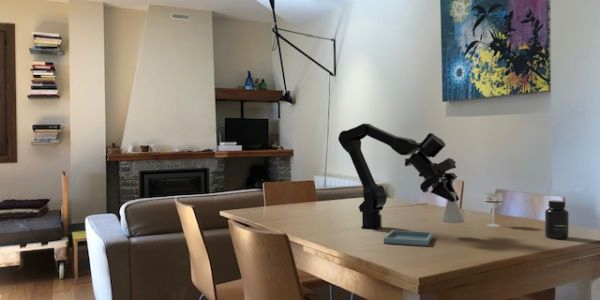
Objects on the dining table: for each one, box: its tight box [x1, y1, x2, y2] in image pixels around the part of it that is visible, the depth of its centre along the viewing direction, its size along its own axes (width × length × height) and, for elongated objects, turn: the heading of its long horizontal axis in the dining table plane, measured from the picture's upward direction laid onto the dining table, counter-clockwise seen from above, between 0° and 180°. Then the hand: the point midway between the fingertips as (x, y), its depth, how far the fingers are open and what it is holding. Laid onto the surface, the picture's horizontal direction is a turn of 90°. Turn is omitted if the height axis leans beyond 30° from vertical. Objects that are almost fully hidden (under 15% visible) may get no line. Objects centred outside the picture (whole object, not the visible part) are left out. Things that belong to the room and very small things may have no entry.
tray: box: [383, 229, 433, 247], centre depth 153 cm, size 14×14×2 cm
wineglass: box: [483, 192, 504, 228], centre depth 177 cm, size 7×7×12 cm
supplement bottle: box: [544, 200, 570, 240], centre depth 154 cm, size 7×7×12 cm
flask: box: [440, 191, 464, 224], centre depth 157 cm, size 7×7×10 cm
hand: (456, 200), depth 156 cm, fingers closed on flask, 3 cm apart
